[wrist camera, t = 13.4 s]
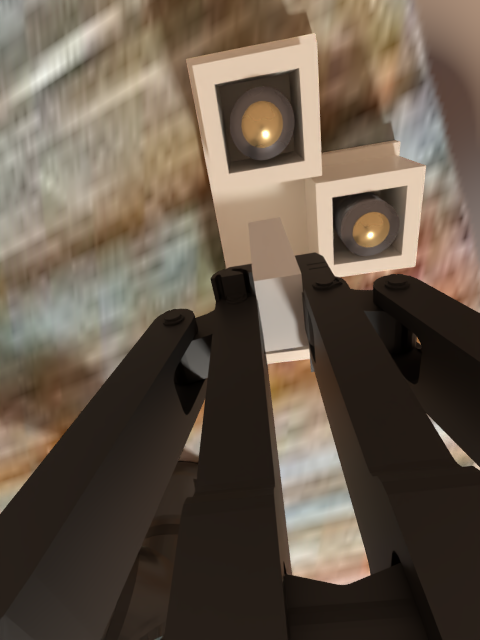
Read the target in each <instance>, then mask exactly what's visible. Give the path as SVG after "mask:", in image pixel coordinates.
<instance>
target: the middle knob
mask: <svg viewBox="0 0 480 640" xmlns="http://www.w3.org/2000/svg"><path fill="white" fill-rule="evenodd" d="M332 211H333V229H334V230H335V232H336V233H337V235H338V236H339V237H340V239H341V240H342V242H343V243H344V244H345V246H346V247H347V248H348V250H349V251H351V252H352V253H354V254H356V255H359V256H372V255H376V254H378V253H380V252H382V251H384V250H385V249H386V248H388V247H389V246H390V245H391V244H392V242H393V241H394V240H395V238H396V236H397V234H398V230H399V217H398V214H397V212H396V210H395V209H394V208H393V207H392V206H391V205H389V204H388V203H387V202H385V201H384V200H382V199H381V198H380V197H378V196H377V195H375V194H374V193H373V192H371V191H370V192H363V193H357V194H351V195H345V196H338V197H332Z"/></svg>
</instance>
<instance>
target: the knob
mask: <svg viewBox="0 0 480 640" xmlns="http://www.w3.org/2000/svg"><path fill="white" fill-rule="evenodd" d="M294 124H295V122H294V113H293V109H292V107H291V104H290V103H289V101H288V99H287V98H286V97H285V96H284V95H283V94H282V93H281V92H280V91H278V90H276V89H274V88H271V87H267V86H260V87H255V88H252V89H250V90H248V91H246V92H245V93H244V94H243V95H241V97H240V98H239V99H238V100H237V102H236V103H235V105H234V107H233V109H232V112H231V116H230V133H231V137H232V139H233V142H234V144H235V145H236V147H237V148H238V149H239V151H240V152H242V153H243V154H244V155H245V156H247V157H249V158H252V159H255V160H267V159H271V158H273V157H275V156H277V155H278V154H280V153H281V152H282V151H283V150H284V149H285V148H286V147H287V145H288V144H289V142H290V140H291V138H292V135H293V131H294Z"/></svg>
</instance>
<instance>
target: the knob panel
mask: <svg viewBox="0 0 480 640" xmlns="http://www.w3.org/2000/svg"><path fill="white" fill-rule="evenodd" d="M186 62H187V68H188V73H189V78H190V83H191V88H192V93H193V99H194V104H195V109H196V114H197V119H198V124H199V130H200V135H201V140H202V145H203V150H204V155H205V161H206V166H207V171H208V176H209V181H210V186H211V192H212V197H213V202H214V207H215V212H216V217H217V223H218V228H219V233H220V238H221V243H222V248H223V254H224V259H225V264H226V269H227V268H229V267H234V266H240V265H246V264H252V262H251V251H250V239H249V227H248V223H249V222H255V221H261V220H266V219H272V218H278V217H280V219H281V221H282V224H283V226H284V229H285V232H286V234H287V237H288V240H289V242H290V245H291V248H292V250H293V253H294V256H296V255H302V254H308V253H314V252H316V253H318V254H320V255H322V256H323V257H324V258H325V260H326V262H327V264H328V266H329V267H330V269H331V271H332V273H333V274H334V276H336V277H343V276H351V275H358V274H365V273H372V272H379V271H386V270H393V269H401V268H408V267H415V264H416V255H417V246H418V236H419V227H420V217H421V208H422V198H423V189H424V180H425V170H426V166H425V165H423V164H420V163H417V162H414V161H412V160H409V159H406V158H403V157H400V156H399V152H400V141H396V140H394V141H388V142H382V143H376V144H370V145H364V146H358V147H353V148H347V149H341V150H335V151H329V152H323V153H321V131H320V104H319V76H318V49H317V41H316V33H312V34H307V35H302V36H297V37H292V38H287V39H282V40H277V41H272V42H267V43H262V44H257V45H252V46H247V47H242V48H237V49H232V50H227V51H222V52H217V53H212V54H207V55H202V56H197V57H192V58H187V59H186ZM260 86H267V87H271V88H274V89H276V90H278V91H280V92H281V93H282V94H283V95H284V96H285V97H286V98H287V99H288V101H289V103H290V104H291V107H292V109H293V113H294V122H295V124H294V131H293V135H292V138H291V140H290V142H289V144H288V145H287V147H286V148H285V149H284V150H283V151H282V152H281V153H280V154H278V155H277V156H275V157H273V158H271V159H267V160H255V159H252V158H249V157H247V156H245V155H244V154H243V153H242V152H240V151H239V149H238V148H237V147H236V145H235V144H234V142H233V139H232V137H231V133H230V116H231V112H232V109H233V107H234V105H235V103H236V102H237V100H238V99H239V98H240V97H241V95H243V94H244V93H245V92H246V91H248V90H250V89H252V88H255V87H260ZM370 191H371V192H373V193H374V194H375V195H377V196H378V197H380V198H381V199H382V200H384V201H385V202H387V203H388V204H389V205H391V206H392V207H393V208H394V209H395V210H396V212H397V214H398V217H399V230H398V234H397V236H396V238H395V240H394V241H393V242H392V244H391V245H390V246H389V247H388V248H386V249H385V250H384V251H382V252H380V253H378V254H376V255H372V256H359V255H356V254H354V253H352V252H351V251H349V250H348V248H347V247H346V246H345V244H344V243H343V242H342V240H341V239H340V237H339V236H338V235H337V233H336V232H335V230H334V229H333V211H332V197H338V196H345V195H351V194H357V193H363V192H370ZM307 342H308V346H303V347H296V348H294V349H291V350H285V351H283V350H275V351H268V352H266V358H267V364H270V363H279V362H287V361H295V360H303V359H310V352H309V341H308V338H307Z"/></svg>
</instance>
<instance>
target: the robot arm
mask: <svg viewBox="0 0 480 640" xmlns="http://www.w3.org/2000/svg"><path fill="white" fill-rule="evenodd" d="M248 227H249V239H250V251H251V262H252V264H246V265H240V266H234V267H229V268H227V269H223V270H221V271H219V272H217V273H215V274H214V275H213V276H212V277H211V283H212V287H213V291H214V295H215V300H216V306H215V310H214V311H212V312H210V313H208V314H206V315H203V316H200V317H197V318H195V315H194V313H193V311H191V310H188V309H173V310H171V311H170V310H169V311H167V312H165V313H164V314H162V315H160V316H159V317H157V318H156V319H155V320H154V321H153V323H152V324H151V325H150V326H149V328H148V329H147V330H146V332H145V333H144V334H143V335H142V337H141V338H140V339H139V340H138V342H137V343H136V344H135V345H134V347H133V348H132V349H131V350H130V352H129V353H128V354H127V355H126V357H125V358H124V359H123V360H122V362H121V363H120V364H119V365H118V367H117V368H116V369H115V371H114V372H113V373H112V374H111V376H110V377H109V378H108V379H107V381H106V382H105V383H104V384H103V386H102V387H101V388H100V389H99V391H98V392H97V393H96V394H95V396H94V397H93V398H92V399H91V401H90V402H89V403H88V404H87V406H86V407H85V408H84V410H83V411H82V412H81V413H80V415H79V416H78V417H77V418H76V420H75V421H74V422H73V423H72V425H71V426H70V427H69V428H68V430H67V431H66V432H65V433H64V435H63V436H62V437H61V438H60V440H59V441H58V442H57V444H56V445H55V446H54V447H53V449H52V450H51V451H50V452H49V454H48V455H47V456H46V457H45V459H44V460H43V461H42V462H41V464H40V465H39V466H38V467H37V469H36V470H35V471H34V472H33V474H32V475H31V476H30V477H29V479H28V480H27V481H26V483H25V484H24V485H23V486H22V488H21V489H20V490H19V491H18V493H17V494H16V495H15V496H14V498H13V499H12V500H11V501H10V503H9V504H8V505H7V506H6V508H5V509H4V510H3V511H2V513H1V514H0V640H480V470H478V469H477V468H475V467H474V466H467V467H462V466H460V465H459V464H457V462H456V461H455V460H454V458H453V457H452V455H451V454H450V452H449V450H448V449H447V447H446V445H445V444H444V442H443V440H442V439H441V437H440V435H439V434H438V432H437V431H436V429H435V427H434V426H433V424H432V422H431V421H430V419H429V417H428V416H427V414H428V415H429V416H430V417H431V418H432V419H433V420H434V421H435V422H436V423H437V424H438V425H439V426H440V427H441V429H442V430H443V431H444V432H445V433H446V434H447V435H448V436H449V437H450V438H451V439H452V440H453V441H454V442H455V443H456V444H457V445H458V446H459V447H460V448H461V449H462V450H463V451H464V452H465V453H466V454H467V455H468V456H469V457H470V458H471V459H472V460H473V461H474V462H475V463H476V464H477V465H478V466H479V467H480V313H478V312H476V311H475V310H473V309H471V308H469V307H467V306H466V305H464V304H462V303H460V302H458V301H456V300H455V299H453V298H451V297H449V296H447V295H446V294H444V293H442V292H440V291H438V290H437V289H435V288H433V287H431V286H429V285H428V284H426V283H424V282H422V281H420V280H418V279H417V278H414V277H411V276H406V275H403V274H397V275H396V274H391V275H388V276H383V277H381V278H378V279H377V280H376V281H375V282H374V284H373V290H354V289H350V288H349V286H348V284H347V283H346V281H345V280H343V279H342V278H339V277H336V276H334V274H333V273H332V271H331V269H330V267H329V266H328V264H327V262H326V260H325V258H324V257H323V256H322V255H320V254H318V253H316V252H314V253H308V254H302V255H296V256H294V253H293V250H292V248H291V245H290V242H289V240H288V237H287V234H286V232H285V229H284V226H283V224H282V221H281V219H280V217H278V218H272V219H266V220H261V221H255V222H249V223H248ZM417 337H418V339H419V341H420V343H421V345H420V344H419V343H417V342H416V340H417ZM307 338H308V341H309V352H310V363H311V372H315V375H316V378H317V382H318V385H319V389H320V392H321V396H322V399H323V403H324V406H325V410H326V413H327V417H328V420H329V424H330V428H331V431H332V435H333V438H334V442H335V445H336V449H337V452H338V456H339V459H340V463H341V466H342V470H343V473H344V477H345V480H346V484H347V487H348V491H349V494H350V498H351V502H352V505H353V509H354V512H355V516H356V519H357V523H358V526H359V530H360V533H361V537H362V540H363V544H364V547H365V551H366V555H367V559H368V563H369V568H370V574H371V575H370V576H368V577H365V578H363V579H361V580H358V581H356V582H353V583H351V584H348V585H336V584H332V583H327V582H322V581H317V580H312V579H307V578H303V577H298V576H293V575H292V570H291V562H290V553H289V545H288V536H287V528H286V519H285V511H284V502H283V494H282V485H281V477H280V468H279V459H278V451H277V442H276V434H275V425H274V417H273V408H272V400H271V391H270V383H269V374H268V366H267V358H266V352H268V351H275V350H282V349H289V348H296V347H303V346H308V342H307ZM205 397H206V398H205ZM204 400H205V407H204V416H203V425H202V434H201V443H200V453H199V462H198V464H197V463H191V462H178V460H179V458H180V455H181V453H182V451H183V448H184V446H185V444H186V441H187V439H188V437H189V434H190V432H191V430H192V428H193V425H194V423H195V421H196V418H197V416H198V414H199V411H200V409H201V407H202V404H203V402H204ZM426 413H427V414H426Z"/></svg>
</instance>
